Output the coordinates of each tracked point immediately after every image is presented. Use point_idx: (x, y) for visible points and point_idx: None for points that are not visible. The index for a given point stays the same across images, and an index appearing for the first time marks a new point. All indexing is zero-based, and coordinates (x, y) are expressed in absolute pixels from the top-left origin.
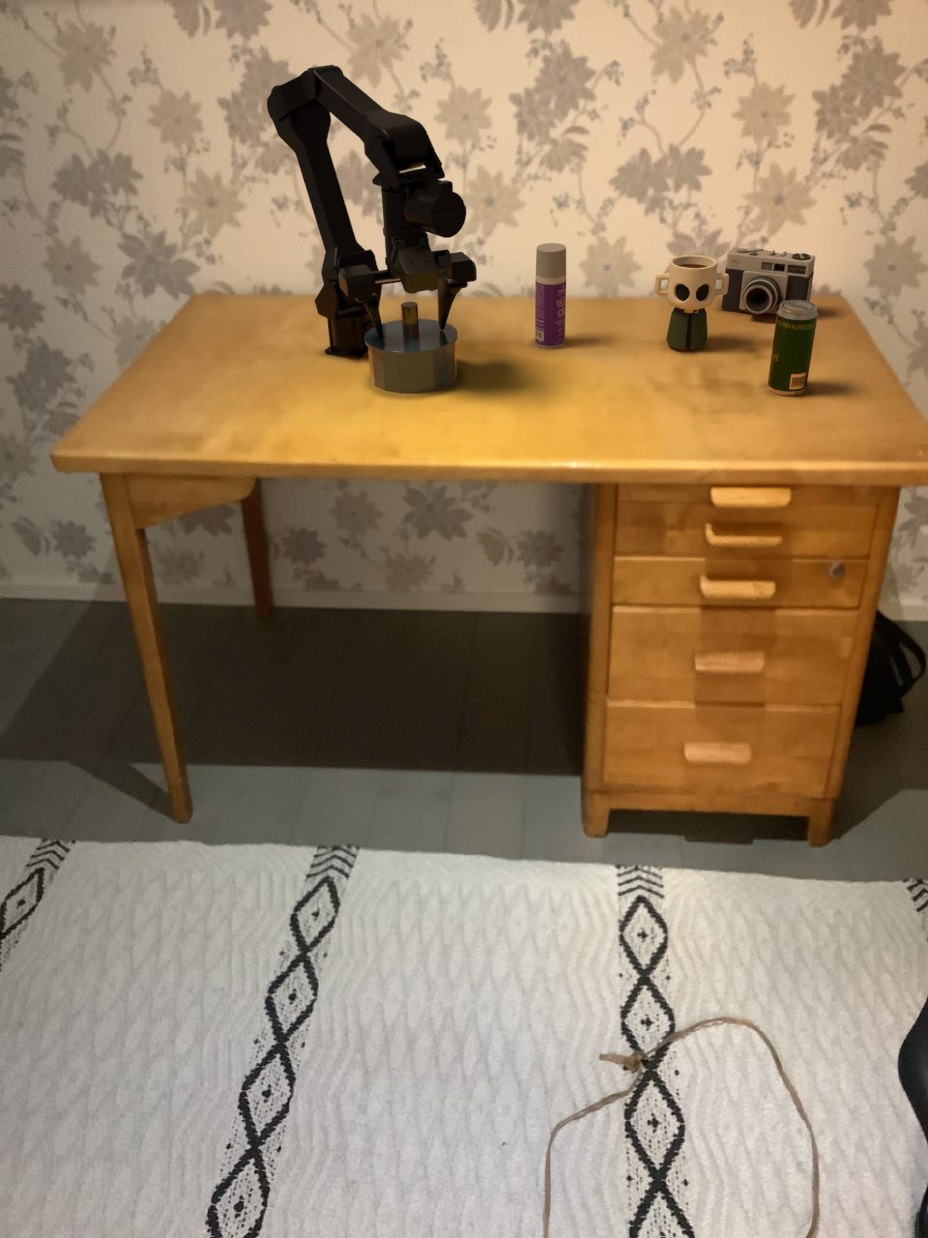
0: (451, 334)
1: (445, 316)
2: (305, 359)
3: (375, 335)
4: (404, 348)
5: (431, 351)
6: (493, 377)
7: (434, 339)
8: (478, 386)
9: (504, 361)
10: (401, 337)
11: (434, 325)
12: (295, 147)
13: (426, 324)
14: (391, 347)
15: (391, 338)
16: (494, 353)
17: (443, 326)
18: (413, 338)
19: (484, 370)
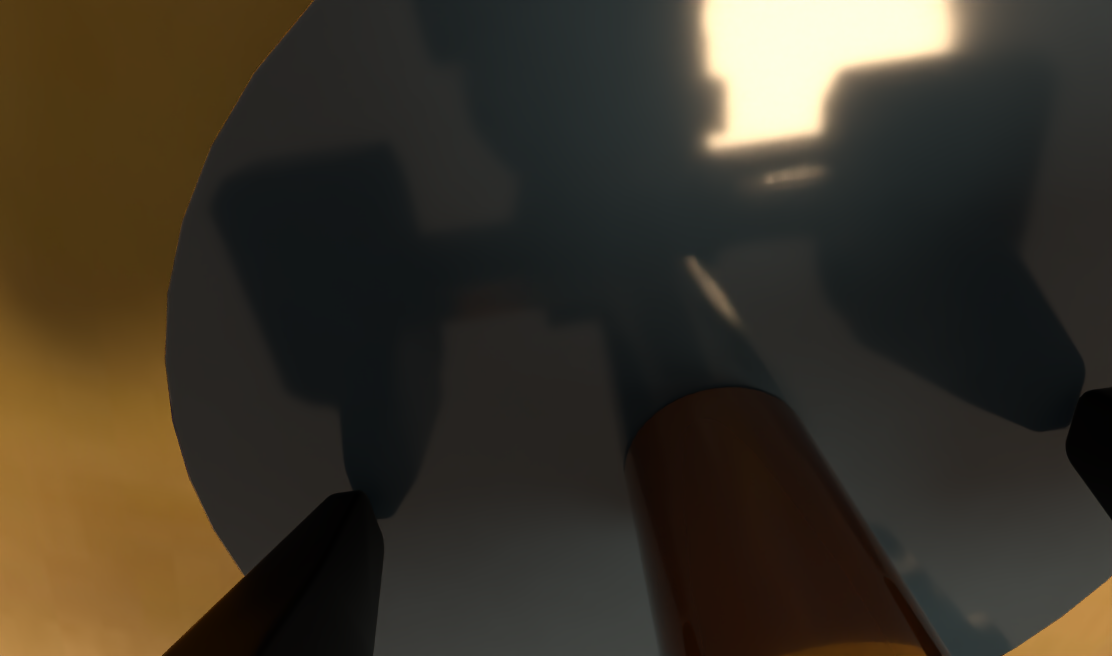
0: (247, 374)
1: (240, 615)
2: (1076, 608)
3: (1063, 514)
4: (960, 24)
5: None
6: (86, 175)
7: (472, 266)
8: (185, 29)
9: (49, 405)
10: (841, 414)
11: (436, 617)
12: None
13: (510, 647)
14: (1103, 122)
15: (955, 411)
16: (130, 512)
17: (327, 512)
18: (721, 357)
19: (166, 304)
